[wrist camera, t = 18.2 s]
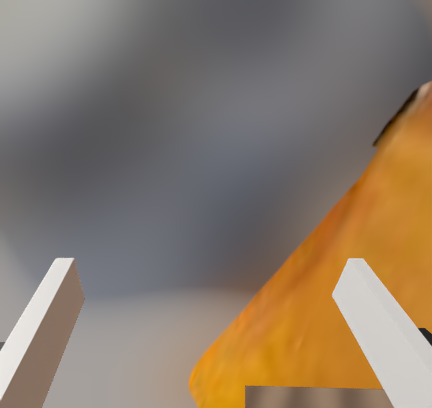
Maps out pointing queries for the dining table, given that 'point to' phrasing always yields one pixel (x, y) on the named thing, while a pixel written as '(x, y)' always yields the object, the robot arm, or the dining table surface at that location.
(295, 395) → the walnut board
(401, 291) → the dining table surface
